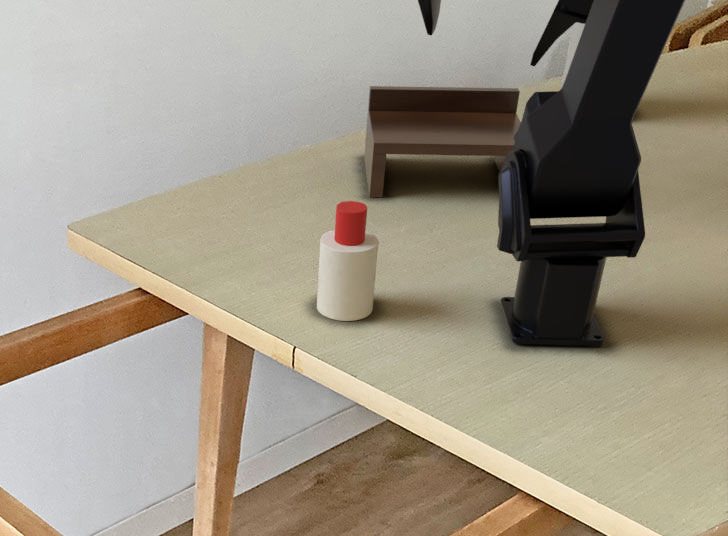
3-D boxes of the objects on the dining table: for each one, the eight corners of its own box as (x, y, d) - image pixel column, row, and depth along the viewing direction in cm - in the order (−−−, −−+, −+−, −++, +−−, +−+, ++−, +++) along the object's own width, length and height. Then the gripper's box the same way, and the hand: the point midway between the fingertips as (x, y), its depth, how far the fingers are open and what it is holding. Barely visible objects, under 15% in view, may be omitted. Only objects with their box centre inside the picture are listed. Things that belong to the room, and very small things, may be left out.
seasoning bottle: (373, 321, 80) (383, 219, 75) (317, 320, 80) (322, 217, 75) (370, 296, 83) (379, 196, 78) (316, 294, 83) (321, 194, 79)
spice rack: (523, 200, 98) (536, 122, 94) (369, 197, 99) (375, 120, 95) (506, 160, 106) (518, 88, 102) (364, 158, 107) (369, 85, 103)
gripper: (680, -160, 81) (611, 25, 94) (444, -219, 85) (410, -33, 98) (646, -84, 76) (578, 101, 89) (396, -150, 79) (367, 37, 93)
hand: (482, 47), depth 92 cm, fingers open, 9 cm apart
